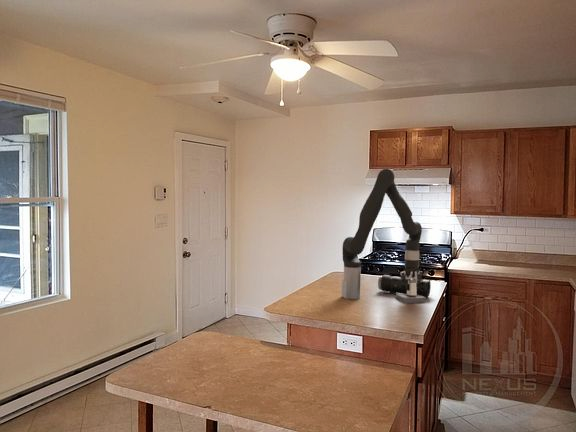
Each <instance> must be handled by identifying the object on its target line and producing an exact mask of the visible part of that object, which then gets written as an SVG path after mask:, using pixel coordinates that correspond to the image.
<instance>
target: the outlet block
mask: <svg viewBox="0 0 576 432" xmlns="http://www.w3.org/2000/svg"><path fill="white" fill-rule="evenodd" d="M395 296H396V297H395V299H396V300H397V301H400V302H403V303H405V304H414V303H416V302H418V303H426V302H427V298H426V297H424V296H421V295H418V294H417V295H407V294H402V293H396V294H395Z"/></svg>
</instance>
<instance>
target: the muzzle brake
mask: <svg viewBox="0 0 576 432" xmlns="http://www.w3.org/2000/svg"><path fill="white" fill-rule="evenodd" d="M411 279H412V277H411ZM377 280H378V281H377V287H378V289H379V290H380V291H383V292H387V293H388V292H389V293H390V294H393V295H396V294H407V290H406V283H405V282H403V281H402V278H401V276H396V275H395V276H392V275H390V274H382V275H379V276H378V279H377ZM431 284H432V283H431V281H430V279H422V278H421V280H420V282H418V283H417V286H416V289H417V294H418V295H421V296H424V297H426V299H427V298H428V297H429V296H430V294H431Z"/></svg>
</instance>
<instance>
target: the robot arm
mask: <svg viewBox="0 0 576 432" xmlns="http://www.w3.org/2000/svg"><path fill="white" fill-rule="evenodd" d="M376 177H377V178H376V180H375V183H374V185H373V188H372V190H371V192H370V193H369V196H368V197H367V199H366V200H365V202H364V204H363V207H362V208H361V211H360V213H359V217H358V218H359V220H358V222H359V223H358V228H357V231H356V232H355V235H354V236H348V237H346V238H344V240H343V241H342V250H341V251H342V262H343V279H342V280H341V297H342V298H344V299H346V300H359V299H360V298H361V276H362V275H361V274H362V273H361V271H362V262H361V260H360V259H359V257H358V256H359V255H361V254H362V253H363V251H364V250H365V247H366V244H367V241H368V238H369V235H370V233H371V231H372V229H373V226H374V224H375V222H376V220H377V218H378V216H379V215H380V211H381V210H382V209H381V208H382V206H383V203H384V200H385V196H387V198H388V199H389V200H390V203H391V204H392V207H393V208H394V210H395V211H396V214H397V215H398V217H399V219H400V222H401V225H402V229H403V231H404V232H405V233H406V234H407V235H408V238H407V239H406V241H405V254H404V270H403V271H400V272H399V275H400V277H401V278H402V281H403V282H405V283H406V290H408V291H409V290H410V280H411V278H412V280H416V286H417V283H418V282H420V280H421V279H422V278H423V275H424V272H423V271H421V270H420V269H419V267H420V241H421V238H422V232H423V230H422V229H423V228H422V225H421V223H420V222H419V221H414V219H413V217H412V216H413V211H412V210H411V208H410V207H409V205H408V203H407V202H406V200H405V199H404V197H403V196H402V194H401V193H400V192H399V190H398V189H397V186H396V183H395V174H394V171H392V169H390V168H384V169H382V170H380V171H379V172H378V174H377V176H376Z"/></svg>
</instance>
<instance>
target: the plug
mask: <svg viewBox="0 0 576 432" xmlns="http://www.w3.org/2000/svg"><path fill="white" fill-rule="evenodd" d="M407 295H417V289H416V280H412V279H411V280H410V290H409V291H408V290H407Z"/></svg>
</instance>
